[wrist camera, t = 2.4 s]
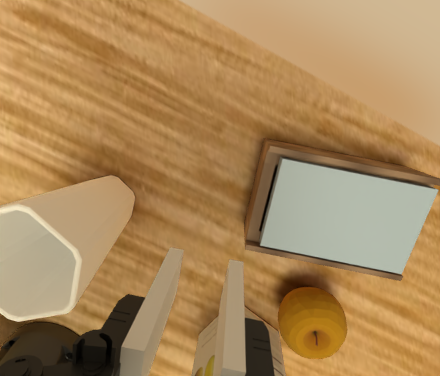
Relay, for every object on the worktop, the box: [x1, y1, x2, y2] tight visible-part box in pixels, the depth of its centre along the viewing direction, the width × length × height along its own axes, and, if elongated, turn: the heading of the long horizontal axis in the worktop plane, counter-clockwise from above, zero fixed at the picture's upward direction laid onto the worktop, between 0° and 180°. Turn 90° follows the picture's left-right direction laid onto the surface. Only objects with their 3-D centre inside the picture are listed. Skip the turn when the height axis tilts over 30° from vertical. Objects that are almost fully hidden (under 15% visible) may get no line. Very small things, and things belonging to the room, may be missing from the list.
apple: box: [278, 287, 347, 359], centre depth 37 cm, size 8×8×9 cm
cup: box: [0, 175, 135, 322], centre depth 31 cm, size 11×10×17 cm
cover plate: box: [259, 156, 438, 274], centre depth 30 cm, size 16×10×2 cm, turn 79°
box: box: [244, 138, 440, 281], centre depth 33 cm, size 18×12×7 cm, turn 79°
